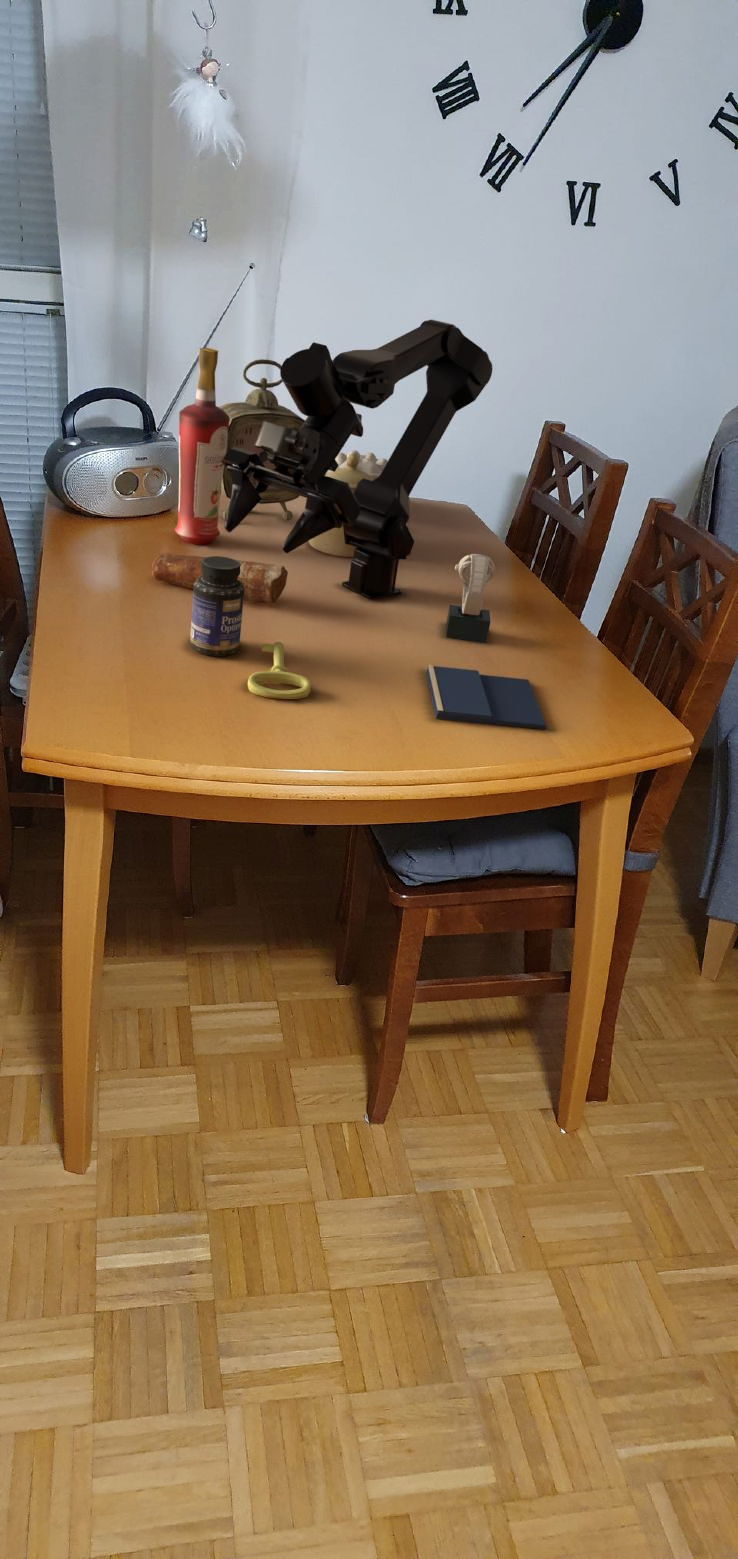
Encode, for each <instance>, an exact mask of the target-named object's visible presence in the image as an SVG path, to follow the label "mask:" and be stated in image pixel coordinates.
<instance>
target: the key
mask: <svg viewBox="0 0 738 1559" xmlns="http://www.w3.org/2000/svg"><path fill="white" fill-rule="evenodd" d="M261 652H271V653H273V665H272V667H271V669H270V670H263V671H255V672H254V673H252V674H250V675H249V676H248V680H247V689H248V691H249V692H250V693H252V694H254V695H257V696H260V697H264V698H270V699H279V700H299V699H303V698H304V699H305V698H306V697H308V696H310V693H311V682H310V680H309V679H308V678H306V677H305V676H303V675H300V674H298V673H293V672H288V668H286V666H285V660H284V659H285V658H284V656H285V654H284V653H285V652H284V643H283V642H281V641H276V642H275V643H274V644H272V643H262V644H261ZM261 683H280V684H287V685H293V686H296V687H299V688H297V689H292V690H281V689H280V690H279V689H273V688H268V687H265V686H262V685H261Z"/></svg>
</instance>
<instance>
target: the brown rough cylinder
mask: <svg viewBox="0 0 738 1559" xmlns="http://www.w3.org/2000/svg"><path fill="white" fill-rule="evenodd" d="M206 557H207V556H201V555H200V556H199V555H190V554H189V555H188V554H187V555H186V554H173V553H160V554H158V555H157V556H156V557H155V558H154V560H153V562H152V565H151V575H152V577H153V578H154V579H155V580H156V581H161V582H164V583H169V584H172V585H176V586H177V585H178V586H182V587H185V588H187V589H192V590H193V589H194V583H195V581H196V580H197V579H198V578H199V577H201V576H202V572H201V561H202V559H204V558H206ZM236 560H237V561H238V562H239V563H240V565H241V566H240V575H239V576H238V577H237V580H239V581H240V582H241V583H242V584H243V587H244V599H243V601H249V602H253V603H256V604H262V605H272V604H276V603H277V601H278V599H279V598H280V597H281V595H282V593H283V591H284V589H285V587H286V585H287V579H288V574H289V571H288V570H287V569H286V567H285V566H284V565H280V564H279V565H278V564H273V563H265V562H258V561H257V562H256V561H250V560H249V561H248V560H239V559H236Z"/></svg>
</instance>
